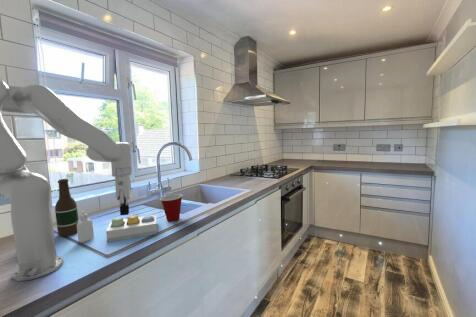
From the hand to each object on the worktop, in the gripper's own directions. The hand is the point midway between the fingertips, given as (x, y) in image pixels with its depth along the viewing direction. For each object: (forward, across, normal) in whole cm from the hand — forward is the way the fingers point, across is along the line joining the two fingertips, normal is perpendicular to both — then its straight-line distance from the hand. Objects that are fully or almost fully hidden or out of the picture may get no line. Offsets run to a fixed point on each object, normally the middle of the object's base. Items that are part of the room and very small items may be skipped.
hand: (124, 214), depth 102 cm
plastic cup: (+8, +9, -20) cm, 23 cm away
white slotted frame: (+8, 0, -3) cm, 9 cm away
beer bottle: (+9, +11, +24) cm, 28 cm away
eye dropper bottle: (+9, 0, +15) cm, 17 cm away
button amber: (+5, 0, -3) cm, 6 cm away
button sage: (+5, 0, +3) cm, 6 cm away
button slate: (+6, +1, -9) cm, 11 cm away
